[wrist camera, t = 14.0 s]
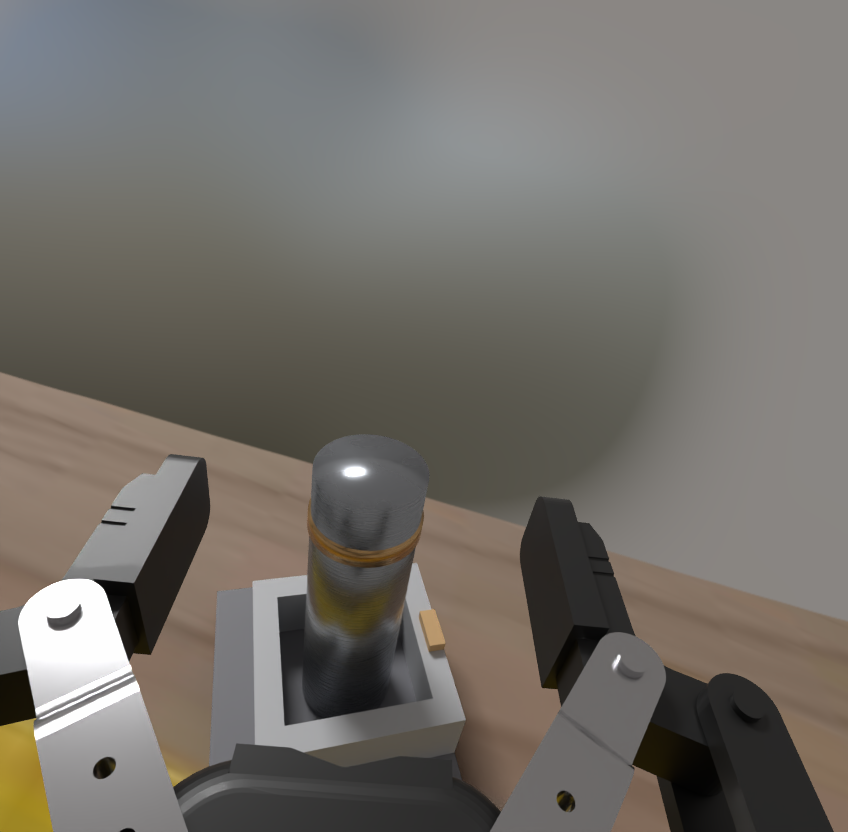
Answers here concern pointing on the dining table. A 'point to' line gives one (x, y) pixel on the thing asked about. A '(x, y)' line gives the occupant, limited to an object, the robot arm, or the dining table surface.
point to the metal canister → (358, 568)
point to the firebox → (282, 683)
